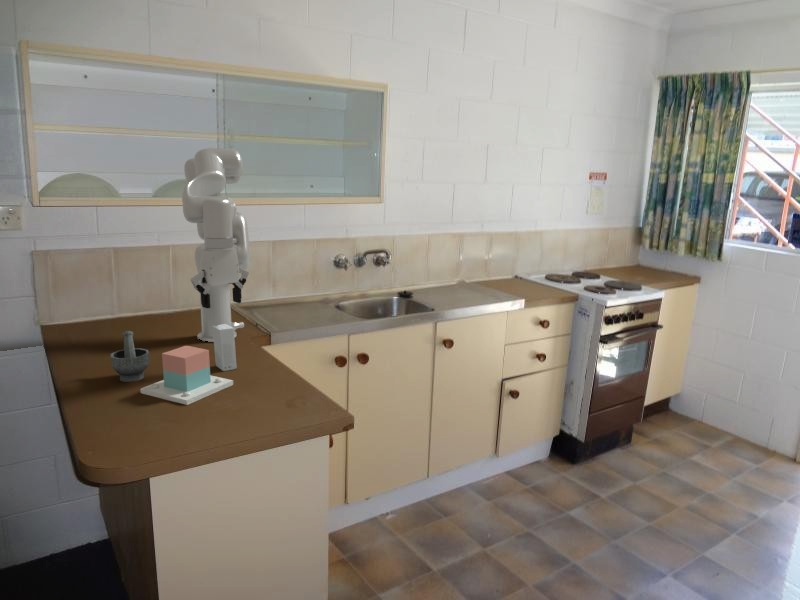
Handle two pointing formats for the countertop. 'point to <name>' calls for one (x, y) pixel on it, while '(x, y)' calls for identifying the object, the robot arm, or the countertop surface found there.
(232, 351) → the skincare box
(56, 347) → the countertop surface
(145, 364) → the mortar and pestle
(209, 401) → the countertop surface
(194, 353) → the block on square base
